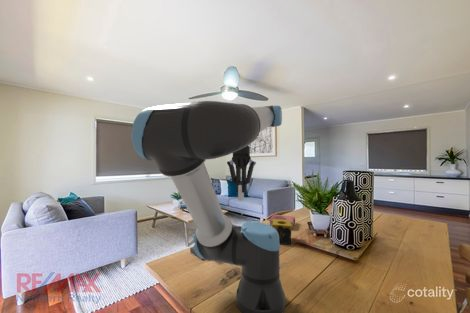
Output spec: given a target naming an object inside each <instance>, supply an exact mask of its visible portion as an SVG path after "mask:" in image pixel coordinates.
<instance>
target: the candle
mask: <svg viewBox="0 0 470 313" xmlns="http://www.w3.org/2000/svg"><path fill="white" fill-rule="evenodd" d="M272 227H273V228H275V229H276V230H277V232H278V234H279V243H280V245H289V246H290V245H292V231H291V222H290V220H281V219H273V225H272Z"/></svg>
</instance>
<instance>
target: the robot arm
mask: <svg viewBox="0 0 470 313" xmlns="http://www.w3.org/2000/svg"><path fill="white" fill-rule="evenodd" d="M282 111H283V110H282V106H280V105H267V106H253V107H252V106H250V105H247V104H243V103H233V102H227V101H216V100H215V101H214V100H201V101H191V102H182V103H174V104H173V103H172V104H159V105H156V106H151V107H146V108H145V109H142V110H141V111H140V112H139V113H138V114H137V115H136V117H135V118H134V121H133V123H132V130H130V131H131V134H130V135H131V143H132V146H133V149H134V151H135V153H136V154H137V155H138V156H139V157H140V158H141V159H145V160H147V161H153V162H154V163H155V165H156V166H157V168H158V170H159V172H160V173H161V174H162V176H165V177H170V178H171V179H172V182H173V184H174V185H175V189H177V191H178V193H179V196H180V198H181V199H182V201H183V203H184V205H185V207H186V208H187V211H188V212H189V214H190V216H191V218H192V220H193V222H194V224H195V226H196V229H195V232H194V233H193V234H194V235H193V243H194V244H193V247H194V249H195V252H196V254H197V255H198V256H199V257H200V258H199V257H198V258H199V259H201V258H202V259H203V260H205V261H209V262H217V263H222V264H227V265H228V264H229V265H234V266H239V267H241V276H240V279H239V282H238V286H237V290H236V294H235V300H236V302H235V303H236V306H237V308H238V310H239V311H240V312H241V313H284V312H285V309H286V295H285V294H286V293H285V292H284V288H283V284H282V282H281V277H280V268H281V267H280V249H281V244H280V243H279V234H278V232H277V230H276V229H275V228H273V227H272V226H270V224H268V223H265V222H260V221H245V222H243V223H242V225H236V226H234V225H235V224H233V223H232V220H231V218H230V217H228V216H227V215H226V214H224V213H223V210H222V207H221V205H220V201H219V199H218V197H217V193H216V191H215V188H214V186H213V183H212V181H211V178H210V174H209V173H208V169H207V167H206V165H205V162H206V160H214V159H218V158H223V157H226V156H229V155H232V157H231V159H230V160H229V161H227V162H226V164H227V166H228V168H229V173H230V177H231V178H230V179H231V181H232V184H235V185H236V186H235V187H236V193H237V196H238V197H237V198H238V199H237V201H240V202H242V201H244V200H245V198H244V197H245V193H246V192H247V190H246V189H247V188H246V187H247V185H248V184H250V183H251V179H252V176H253V171H254V167H255V165H256V164H257V162H256V161H254V160H252V158H251V155H250V154H251V152H250V151H251V146H250V145H251V144H252V143H254V142H255V141H256V139H257V138H258V137H259V134H260V133H261V132H263V131H264V130H266V129H267V128H275V127H281V125H282V121H283V112H282ZM234 165H235V166H234ZM248 165H249V166H248ZM232 224H233V225H232ZM202 259H201V260H202Z"/></svg>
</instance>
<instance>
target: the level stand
mask: <svg viewBox="0 0 470 313" xmlns="http://www.w3.org/2000/svg"><path fill="white" fill-rule="evenodd" d="M232 225H234V226H237V225H235V224H233V223H232ZM189 250H190V251H189V252H190V253H191V254H193V255H194V256H196V257H197V258H199V259H200V260H204V259H202V258H200V257H199V256H198V255H197V254H196V252H195V249H194V246H192V247H190V249H189Z"/></svg>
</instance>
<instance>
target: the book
mask: <svg viewBox="0 0 470 313" xmlns="http://www.w3.org/2000/svg"><path fill="white" fill-rule="evenodd" d="M273 219H281V220H290V222H291V230H292V231H293V229H294V227H295V225H294V224H296V217H295V216H291V215H281V214H273V215H272V216H271V217H270V218H269V220H268V222H269V225H270V226H272V225H273Z"/></svg>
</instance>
